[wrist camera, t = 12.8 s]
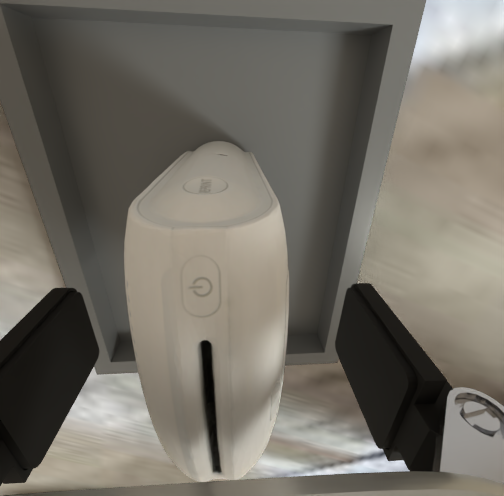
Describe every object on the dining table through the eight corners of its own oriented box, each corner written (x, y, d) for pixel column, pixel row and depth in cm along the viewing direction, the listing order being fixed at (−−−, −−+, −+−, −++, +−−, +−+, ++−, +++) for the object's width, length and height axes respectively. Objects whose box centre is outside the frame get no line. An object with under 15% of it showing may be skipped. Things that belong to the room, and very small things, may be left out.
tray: (395, 8, 13) (428, -11, 11) (327, 338, 23) (337, 362, 21) (1, -15, 12) (-51, -43, 10) (110, 347, 22) (97, 374, 20)
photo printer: (178, 137, 15) (31, 228, 4) (257, 138, 15) (336, 225, 4) (193, 292, 19) (149, 533, 8) (253, 290, 20) (285, 520, 9)
